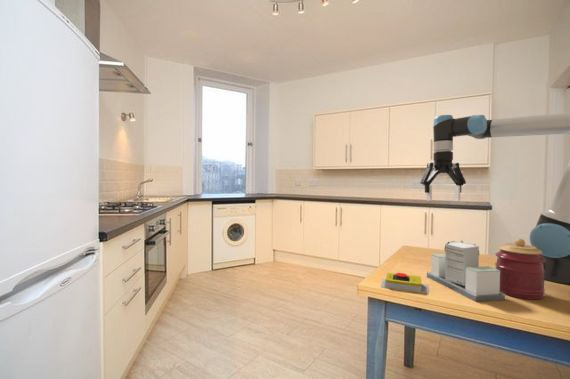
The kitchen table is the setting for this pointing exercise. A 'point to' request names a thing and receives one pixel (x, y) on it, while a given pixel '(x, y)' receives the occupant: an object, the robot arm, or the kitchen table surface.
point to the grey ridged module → (460, 261)
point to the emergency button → (404, 283)
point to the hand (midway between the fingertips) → (443, 200)
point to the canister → (521, 270)
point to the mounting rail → (463, 291)
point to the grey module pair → (471, 276)
